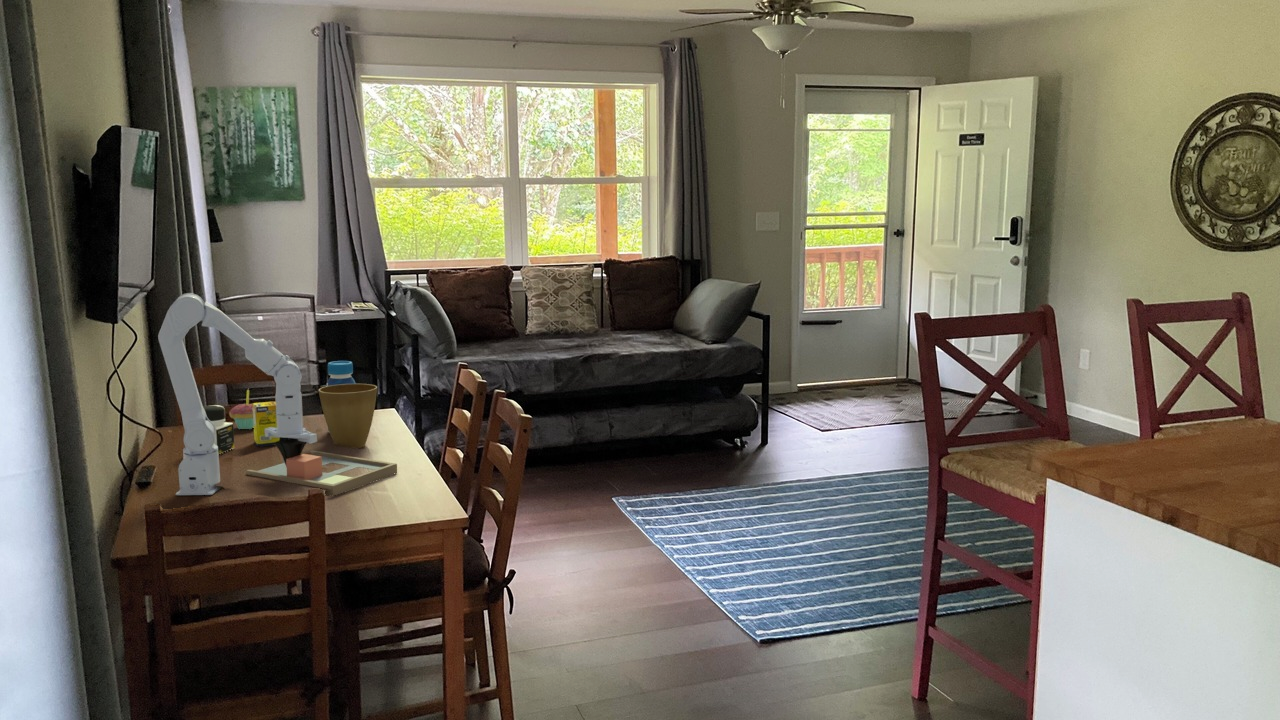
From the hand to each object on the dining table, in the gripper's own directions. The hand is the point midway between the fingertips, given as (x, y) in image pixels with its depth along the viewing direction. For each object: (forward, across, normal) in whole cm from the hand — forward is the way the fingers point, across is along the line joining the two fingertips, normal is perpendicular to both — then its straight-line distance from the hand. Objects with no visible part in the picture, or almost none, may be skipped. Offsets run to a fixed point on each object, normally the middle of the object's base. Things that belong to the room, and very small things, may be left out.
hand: (292, 469), depth 224 cm
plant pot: (+3, +11, -30) cm, 32 cm away
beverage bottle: (+3, +24, -42) cm, 49 cm away
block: (+1, -4, 0) cm, 5 cm away
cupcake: (+3, +52, -33) cm, 62 cm away
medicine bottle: (+3, +38, -10) cm, 39 cm away
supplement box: (+3, +33, -22) cm, 40 cm away
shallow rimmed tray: (+2, -4, -5) cm, 7 cm away
